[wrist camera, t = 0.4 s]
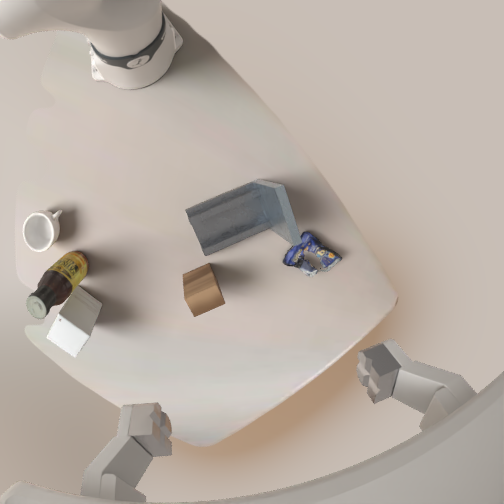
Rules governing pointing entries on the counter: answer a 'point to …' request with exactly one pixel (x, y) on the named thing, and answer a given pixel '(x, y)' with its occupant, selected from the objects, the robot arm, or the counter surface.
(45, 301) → the sauce bottle
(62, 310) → the supplement box
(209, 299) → the tan wooden block
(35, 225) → the teacup
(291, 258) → the snack package
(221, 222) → the track
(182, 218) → the counter surface
